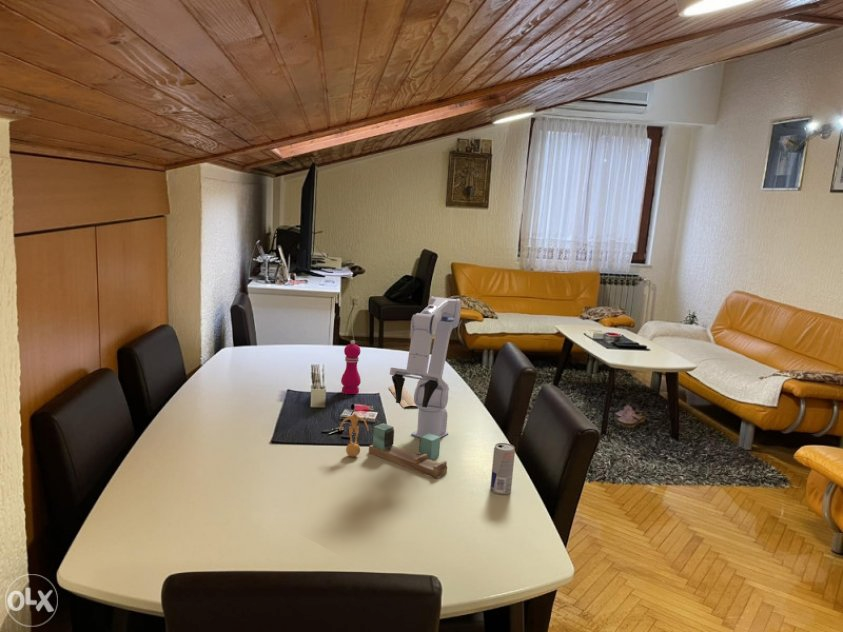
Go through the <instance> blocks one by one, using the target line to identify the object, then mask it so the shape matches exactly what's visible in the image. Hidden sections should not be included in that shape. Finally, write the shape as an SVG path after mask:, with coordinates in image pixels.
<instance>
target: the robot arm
mask: <svg viewBox="0 0 843 632" xmlns="http://www.w3.org/2000/svg"><path fill="white" fill-rule="evenodd" d="M427 304H428V305H427V306H426V307H425V308H424V309H423V310H422V311H421V312H420V313H419V312H417V313H415V314H413V315H412V317H411V321H410V333H409V334H410V335H409V337H410V344H409V349H408V350H409V351H408V358H407V365H406V369H404V368H397V367H390V369H389V370H390V371H389V375H390V376H391V380H392V383H393V386H394V387H395V393H396V398H395V404H400V402H401V396H402V389H403V387H404V385H405V381H406V378H409V379H415V380H418V381H417V385H416V387H415V390H414V393H413V394H414V395H413V399H414V403H415V404H416V405H417V407H416V408H417V409H418V413H417V415H418V416H417V426H416V427H417V428H416V429H417V430H416V431H412V432H411V434H410V435H411V436H414V437H418V438H419V439H420V438H421V437H422V436H424V435H426V434H429V433H430V434H433V435H436V436H439V437H440V438H442V437H444V436H447V435H449V432H448V431H447V427H448V411H447V405H448V401H449V392H450V391H449V390H450V388H449V384H448V383H447V382H446V381H445V380H444V379H443V374H444V369H445V368H444V367H445V364H446V358H447V353H448V347H449V342H450V338H451V335H452V331H453V329H455V328H457V327H458V326H459V323H460V318H461V314H462V312H461V311H462V301H461V299H460V298H450V297H449V298H446V297H441V296H440V297H438V296H433V295H432V296H431V297H430V298H429V299H428V303H427ZM433 336H434V340H433ZM432 341H433V346H432ZM431 347H432V350H431ZM430 354H431V356H430Z"/></svg>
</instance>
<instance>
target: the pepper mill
mask: <svg viewBox="0 0 843 632" xmlns="http://www.w3.org/2000/svg"><path fill="white" fill-rule="evenodd" d="M343 349H344V350H343V353H344V355H345V357H344V358H345V359H344V361H345V363H346V365H345V370H344V372H343V373H342V376H341V379H340V380H341V381H340V382H341V384H342V387H341V393H342V392H343V393H342V394H344V393H346V394H345V395H347V394H355V395H358V394H359V393H360V388H359V386H360V384H361V381H362V380H361V376H360V374H359V371H358V362H359V361H360V360H359V359H360V358H359V356H360V355H361V348H360V346H359V345H358V344H356V340H354V339H351V340H350V344H347V345H346V346H345V347H344V348H343ZM357 393H358V394H357Z"/></svg>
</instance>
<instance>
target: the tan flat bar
mask: <svg viewBox="0 0 843 632" xmlns="http://www.w3.org/2000/svg"><path fill="white" fill-rule="evenodd" d="M388 389H389V391H390V392H391V393H392V395H393V396H394V398H395V399H396V393H395V387H394V385H391V386H388ZM399 404H400V406H401V407H402V409H405V408H406V407H410V406H411V407H416V408H417V405H416V404H415V403H414V397H412V395H411V394H410V393H409V392H408V390H407V389H406V388H405V386H403V389H402V396H401V402H400V403H399Z"/></svg>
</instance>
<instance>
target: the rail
mask: <svg viewBox="0 0 843 632" xmlns="http://www.w3.org/2000/svg"><path fill="white" fill-rule="evenodd" d="M372 437H373V439H372V444H370V445H369V446H368V453H369V454H372V455H374V456H377V457H379V458H382V459H385V460H386V461H390V462H392V463H394V464H397V465H401V466H403V467H405V468H408V469H409V470H413V471H415V472H418V473H421V474H424V475H426V476H428V477H431V478H432V479H433V478H434V479H438V478H440V477H441V476H444V475H446V474H447V473H448V465H447V463H448V461H446V460H442V461H441V462H437V461H435V460H430V459H427V454H423V455H421V456H420V454H416V453H413V452H410V451H409V450H408V451H407V450H405V449H402V448H400V447H398V446H394V441H395V440H394V439H395V429H394V426H392V425H389V424H387V423H380V424H377V425H375V426H373V435H372Z"/></svg>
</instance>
